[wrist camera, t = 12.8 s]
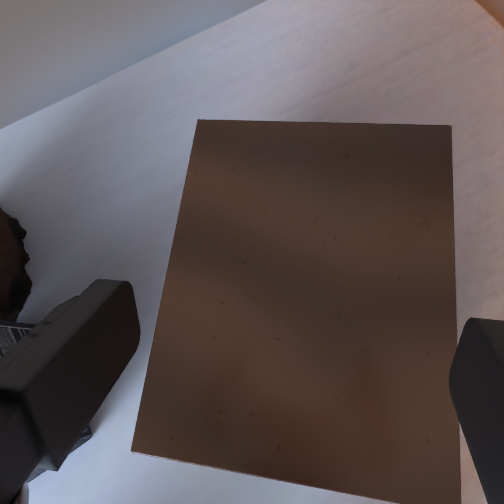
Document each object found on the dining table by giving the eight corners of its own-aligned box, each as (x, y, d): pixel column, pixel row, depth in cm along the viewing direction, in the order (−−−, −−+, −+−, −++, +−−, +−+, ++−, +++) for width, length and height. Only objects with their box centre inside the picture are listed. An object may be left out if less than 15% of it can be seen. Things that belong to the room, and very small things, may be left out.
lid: (201, 127, 22) (197, 118, 22) (446, 133, 20) (451, 124, 19) (137, 448, 17) (129, 452, 17) (454, 508, 15) (462, 516, 14)
